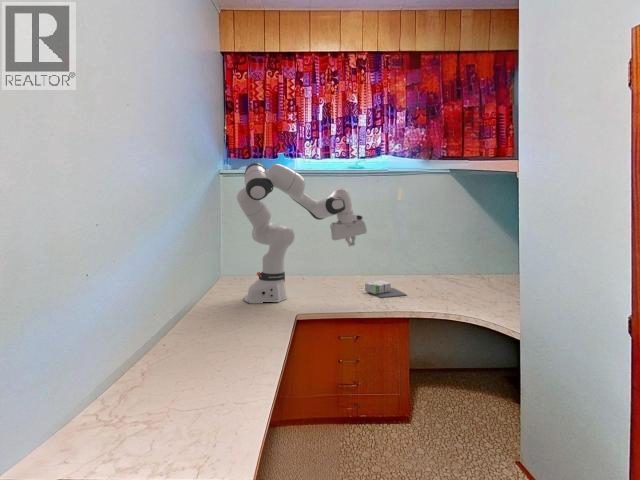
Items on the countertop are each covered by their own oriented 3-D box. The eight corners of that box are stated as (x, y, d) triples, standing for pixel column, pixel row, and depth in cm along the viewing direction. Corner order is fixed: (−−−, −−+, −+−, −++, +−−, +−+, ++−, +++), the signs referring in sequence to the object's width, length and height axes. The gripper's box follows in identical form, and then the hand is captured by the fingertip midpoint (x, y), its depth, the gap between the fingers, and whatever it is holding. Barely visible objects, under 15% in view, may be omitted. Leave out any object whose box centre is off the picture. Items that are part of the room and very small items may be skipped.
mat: (380, 298, 233) (380, 296, 233) (367, 290, 248) (367, 289, 248) (406, 295, 238) (406, 294, 238) (393, 288, 253) (393, 287, 253)
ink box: (375, 294, 237) (391, 291, 244) (375, 285, 236) (391, 282, 243) (364, 291, 244) (380, 288, 251) (364, 282, 243) (380, 280, 250)
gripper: (332, 222, 219) (338, 249, 219) (365, 215, 229) (370, 241, 229) (326, 223, 224) (332, 250, 224) (358, 217, 234) (363, 242, 235)
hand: (352, 245), depth 227 cm, fingers closed
